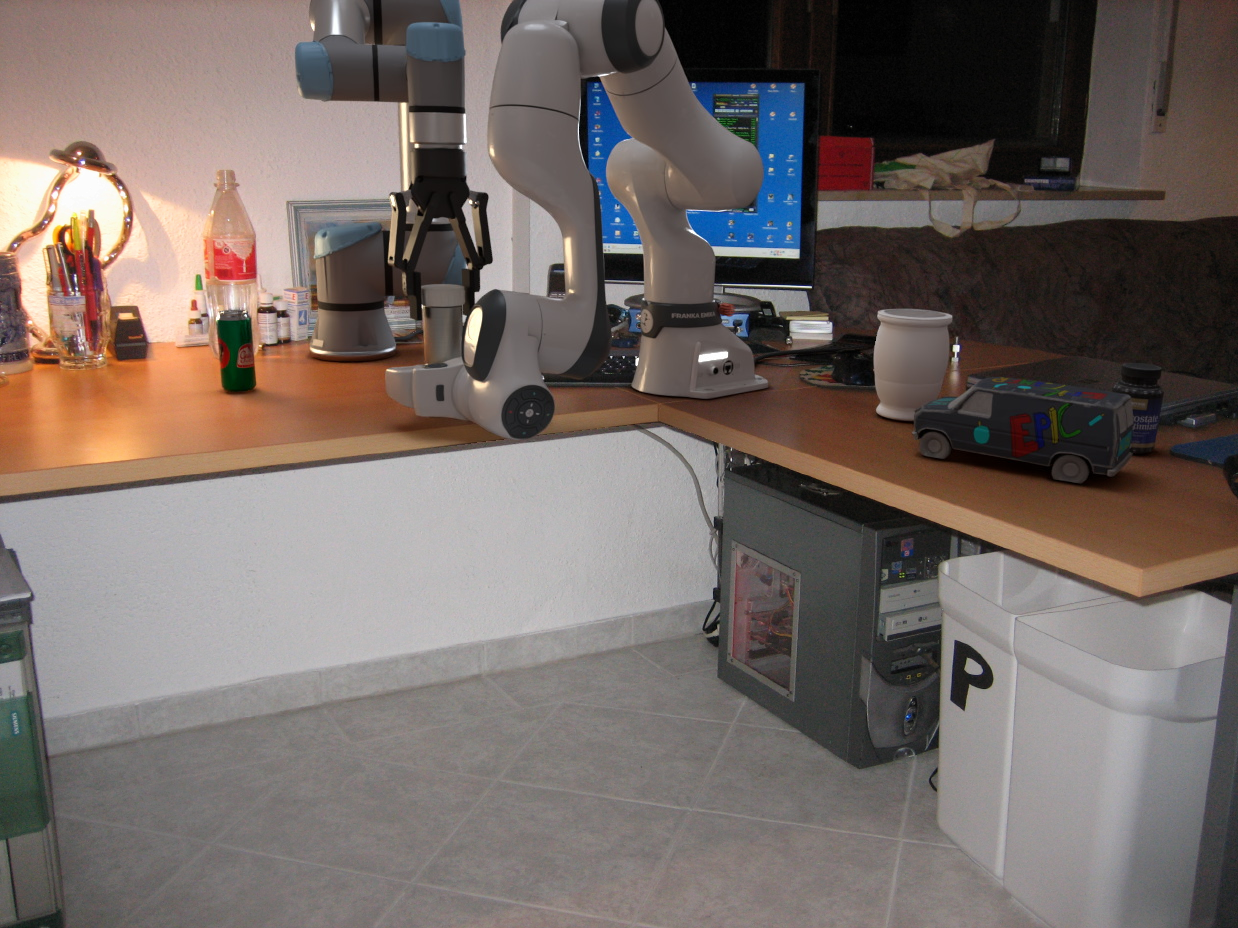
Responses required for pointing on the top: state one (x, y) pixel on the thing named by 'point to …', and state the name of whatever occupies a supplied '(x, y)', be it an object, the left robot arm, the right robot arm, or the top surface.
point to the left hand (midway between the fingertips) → (442, 317)
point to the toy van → (1032, 426)
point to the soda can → (236, 350)
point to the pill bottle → (1142, 402)
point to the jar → (910, 360)
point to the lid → (443, 295)
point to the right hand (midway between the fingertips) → (441, 368)
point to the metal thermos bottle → (442, 333)
